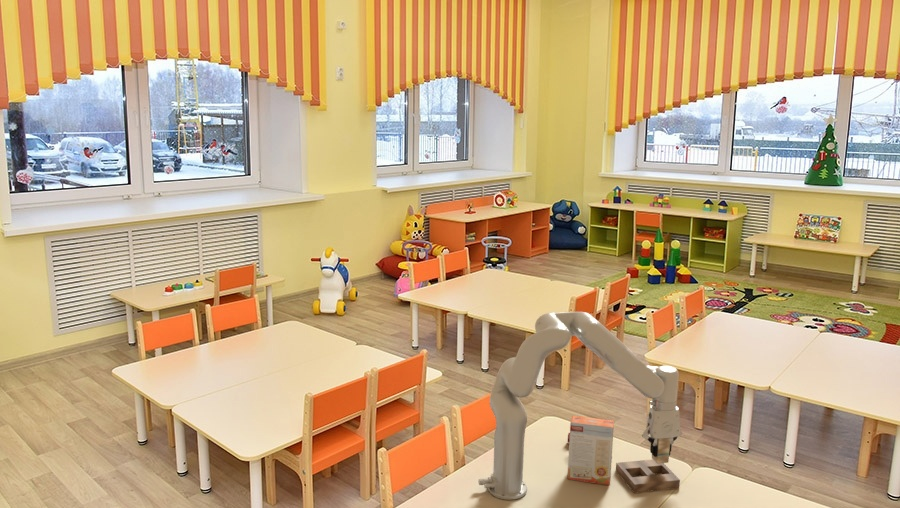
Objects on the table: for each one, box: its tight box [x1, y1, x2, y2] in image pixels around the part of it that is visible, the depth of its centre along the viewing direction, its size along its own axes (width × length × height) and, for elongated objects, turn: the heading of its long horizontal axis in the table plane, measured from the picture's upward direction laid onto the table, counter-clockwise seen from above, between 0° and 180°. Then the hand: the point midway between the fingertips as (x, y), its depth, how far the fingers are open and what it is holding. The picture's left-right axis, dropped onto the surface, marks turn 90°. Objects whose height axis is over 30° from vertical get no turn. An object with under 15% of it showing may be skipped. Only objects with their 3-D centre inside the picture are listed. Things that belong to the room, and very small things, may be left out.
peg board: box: [615, 458, 681, 494], centre depth 237 cm, size 16×14×3 cm
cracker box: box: [567, 415, 615, 486], centre depth 235 cm, size 14×6×21 cm, turn 74°
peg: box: [651, 438, 670, 464], centre depth 235 cm, size 4×4×10 cm
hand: (660, 453), depth 236 cm, fingers closed on peg, 4 cm apart
